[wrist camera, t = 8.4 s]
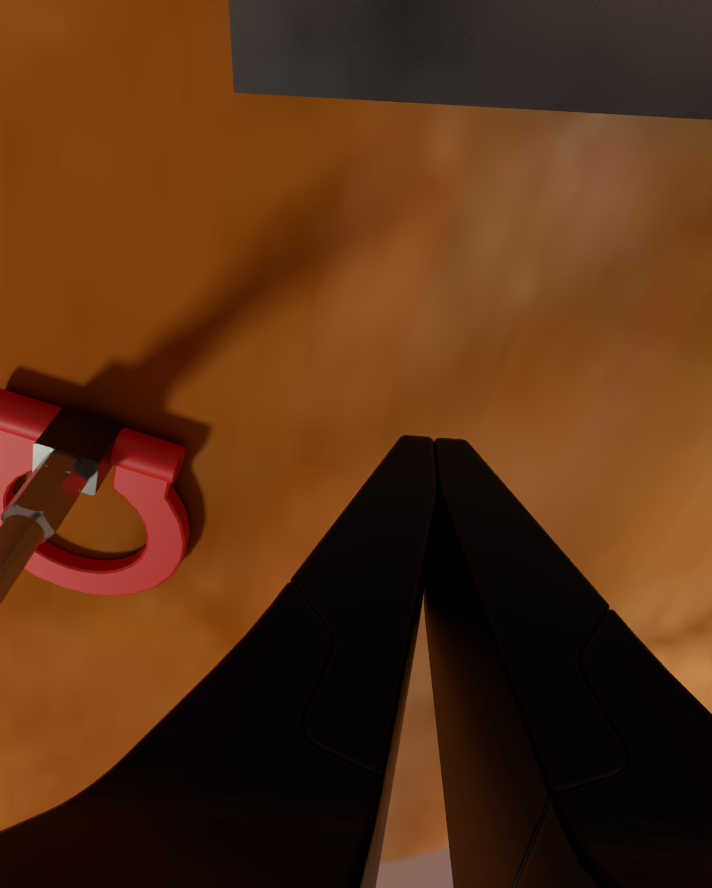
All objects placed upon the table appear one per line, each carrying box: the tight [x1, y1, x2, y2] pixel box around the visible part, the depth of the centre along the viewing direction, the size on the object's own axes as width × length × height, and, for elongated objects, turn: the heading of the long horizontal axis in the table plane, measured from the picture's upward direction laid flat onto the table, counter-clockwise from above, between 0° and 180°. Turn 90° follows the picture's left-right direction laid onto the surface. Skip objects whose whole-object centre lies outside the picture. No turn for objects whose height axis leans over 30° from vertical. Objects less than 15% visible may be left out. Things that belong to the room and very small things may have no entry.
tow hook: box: [0, 389, 190, 605], centre depth 21 cm, size 8×13×9 cm
